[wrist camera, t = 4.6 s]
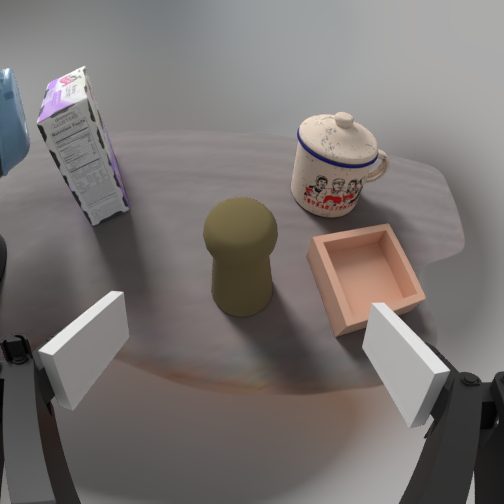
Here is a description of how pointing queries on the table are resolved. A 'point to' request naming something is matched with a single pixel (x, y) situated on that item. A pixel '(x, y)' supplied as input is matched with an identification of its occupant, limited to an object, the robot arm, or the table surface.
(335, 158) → the teacup with lid
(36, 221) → the table surface
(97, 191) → the candy box
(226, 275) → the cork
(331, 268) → the tray
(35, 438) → the robot arm
